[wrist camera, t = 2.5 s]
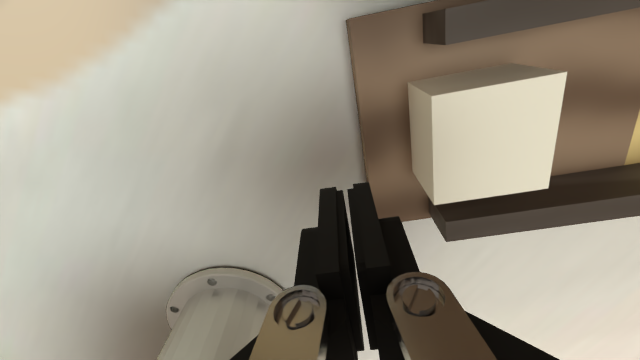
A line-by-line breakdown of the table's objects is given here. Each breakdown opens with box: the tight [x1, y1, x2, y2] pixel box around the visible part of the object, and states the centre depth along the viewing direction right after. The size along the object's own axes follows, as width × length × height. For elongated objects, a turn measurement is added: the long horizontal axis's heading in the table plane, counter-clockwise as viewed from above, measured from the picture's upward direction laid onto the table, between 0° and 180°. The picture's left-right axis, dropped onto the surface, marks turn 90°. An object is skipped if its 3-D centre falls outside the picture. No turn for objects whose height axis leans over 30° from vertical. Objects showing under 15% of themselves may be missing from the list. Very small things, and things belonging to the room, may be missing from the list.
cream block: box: [408, 63, 567, 205], centre depth 17 cm, size 6×6×4 cm
